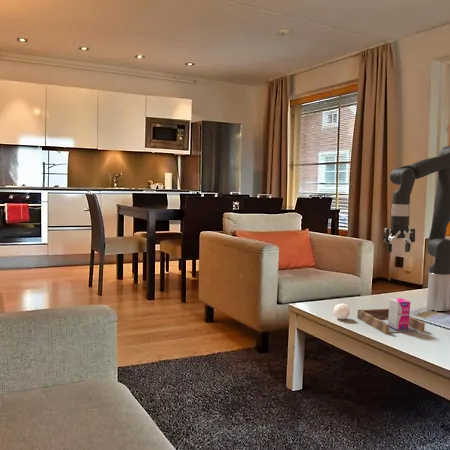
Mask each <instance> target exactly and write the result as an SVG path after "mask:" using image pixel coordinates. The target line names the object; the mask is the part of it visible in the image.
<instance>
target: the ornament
mask: <svg viewBox="0 0 450 450" xmlns="http://www.w3.org/2000/svg"><path fill="white" fill-rule="evenodd" d="M350 311H351V309H350V308H349V304H347V303H346V304H345V303H338V304H336V305H335V306H334V308H333V314H334V316H335V317H336V318H337V319H339V320H346V319H348V318H349V316H350V314H351V312H350Z"/></svg>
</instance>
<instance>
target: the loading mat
mask: <svg viewBox="0 0 450 450" xmlns="http://www.w3.org/2000/svg"><path fill="white" fill-rule="evenodd" d="M417 332H419V331H418V330H416V329H414V328H412V327H410V326H408V330H394V329H392V328H390V327H389V334H399V333H400V334H401V333H417Z"/></svg>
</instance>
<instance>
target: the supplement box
mask: <svg viewBox="0 0 450 450" xmlns="http://www.w3.org/2000/svg"><path fill="white" fill-rule="evenodd" d="M388 309H389V315H388V318H387V324H389V327H390V328H392V329H394V330H408V326H409V316H410V310H411V301H409V300H407V299H404V298H402V297H400V298H399V297H398V298H396V297H395V298H389V305H388Z"/></svg>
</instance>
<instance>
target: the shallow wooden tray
mask: <svg viewBox="0 0 450 450" xmlns="http://www.w3.org/2000/svg"><path fill="white" fill-rule="evenodd" d="M388 315H389V308H373V309H372V308H371V309H357V320H358V319H359V320H360V321H362V322H363V323H365V324H367V325H369V326H371V327H372V328H374V329H376V330H378V331H380V332H381V333H382V334H385V335H389V334H390V333H389V324H388V322H384V321H383V320H381V319H388ZM409 326H410V327H412V328H414V329H416V330H418V332H420V333H424V332H425V327H426V326H425V322H423V321H422V320H419V319H417V318H414V317H413V316H412V315H411V316H410V315H409Z"/></svg>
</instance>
